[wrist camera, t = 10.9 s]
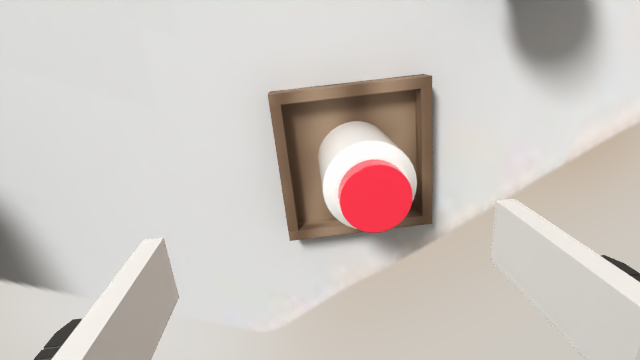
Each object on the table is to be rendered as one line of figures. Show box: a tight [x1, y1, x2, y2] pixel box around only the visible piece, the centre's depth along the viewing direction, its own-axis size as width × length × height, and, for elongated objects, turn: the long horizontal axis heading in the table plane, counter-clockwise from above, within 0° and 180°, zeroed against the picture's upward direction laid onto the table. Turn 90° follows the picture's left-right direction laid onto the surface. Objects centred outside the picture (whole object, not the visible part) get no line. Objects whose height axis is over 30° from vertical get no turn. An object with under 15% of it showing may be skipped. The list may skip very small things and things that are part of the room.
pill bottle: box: [318, 121, 417, 233], centre depth 32 cm, size 8×8×11 cm
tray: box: [268, 74, 432, 241], centre depth 37 cm, size 15×15×2 cm
